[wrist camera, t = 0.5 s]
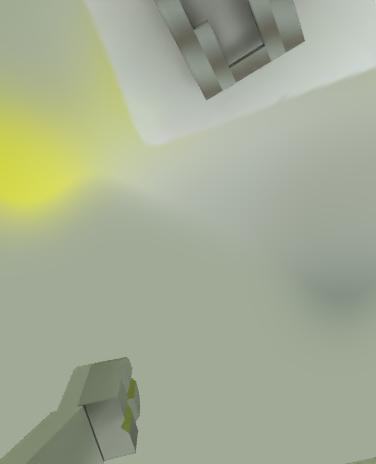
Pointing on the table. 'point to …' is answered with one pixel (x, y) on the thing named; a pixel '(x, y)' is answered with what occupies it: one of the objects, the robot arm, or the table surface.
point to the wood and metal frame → (208, 49)
